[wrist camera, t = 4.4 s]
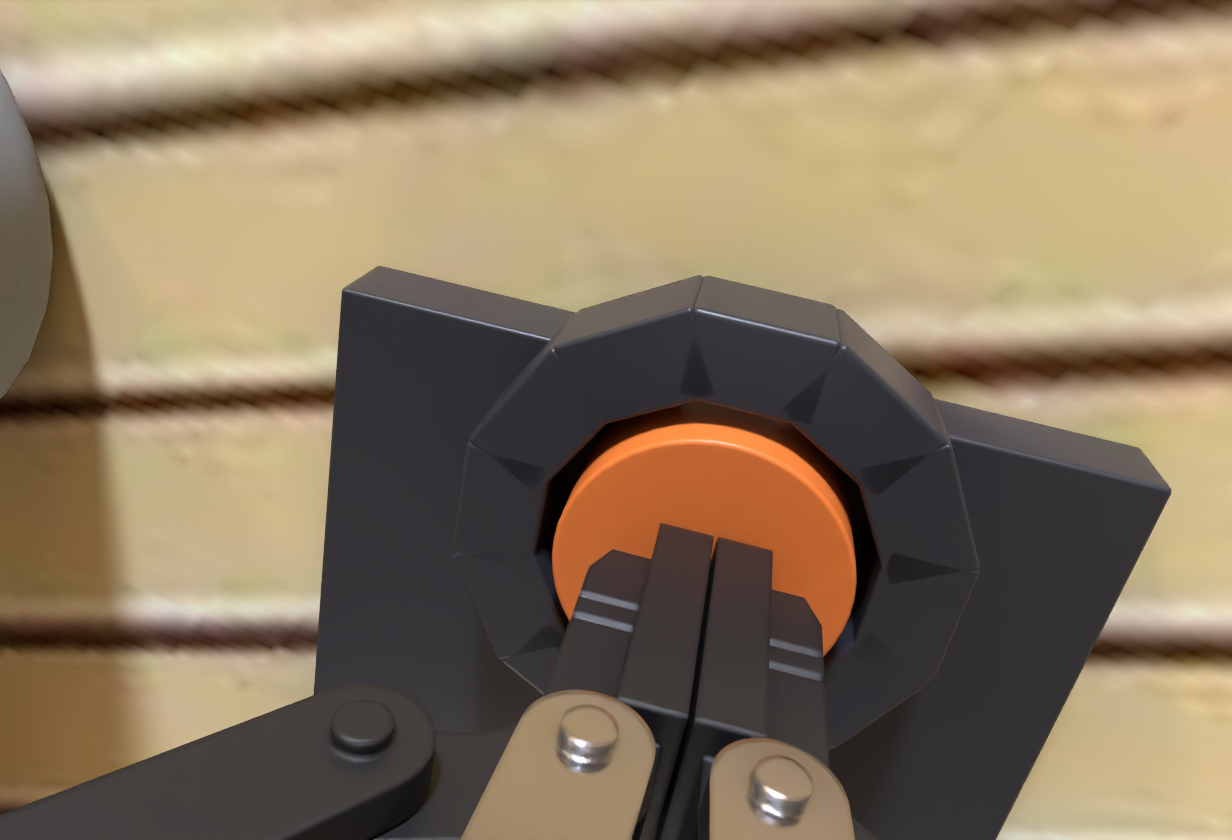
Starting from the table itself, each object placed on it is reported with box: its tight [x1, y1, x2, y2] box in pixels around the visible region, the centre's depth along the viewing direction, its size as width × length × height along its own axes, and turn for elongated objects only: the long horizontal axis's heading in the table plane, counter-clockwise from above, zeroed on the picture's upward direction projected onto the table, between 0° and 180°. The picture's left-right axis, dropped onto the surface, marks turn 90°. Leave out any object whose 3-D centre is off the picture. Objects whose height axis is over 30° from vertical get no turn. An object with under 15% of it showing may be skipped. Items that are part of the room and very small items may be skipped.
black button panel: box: [314, 266, 1171, 840], centre depth 16 cm, size 16×12×3 cm
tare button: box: [552, 401, 857, 658], centre depth 13 cm, size 4×4×2 cm
